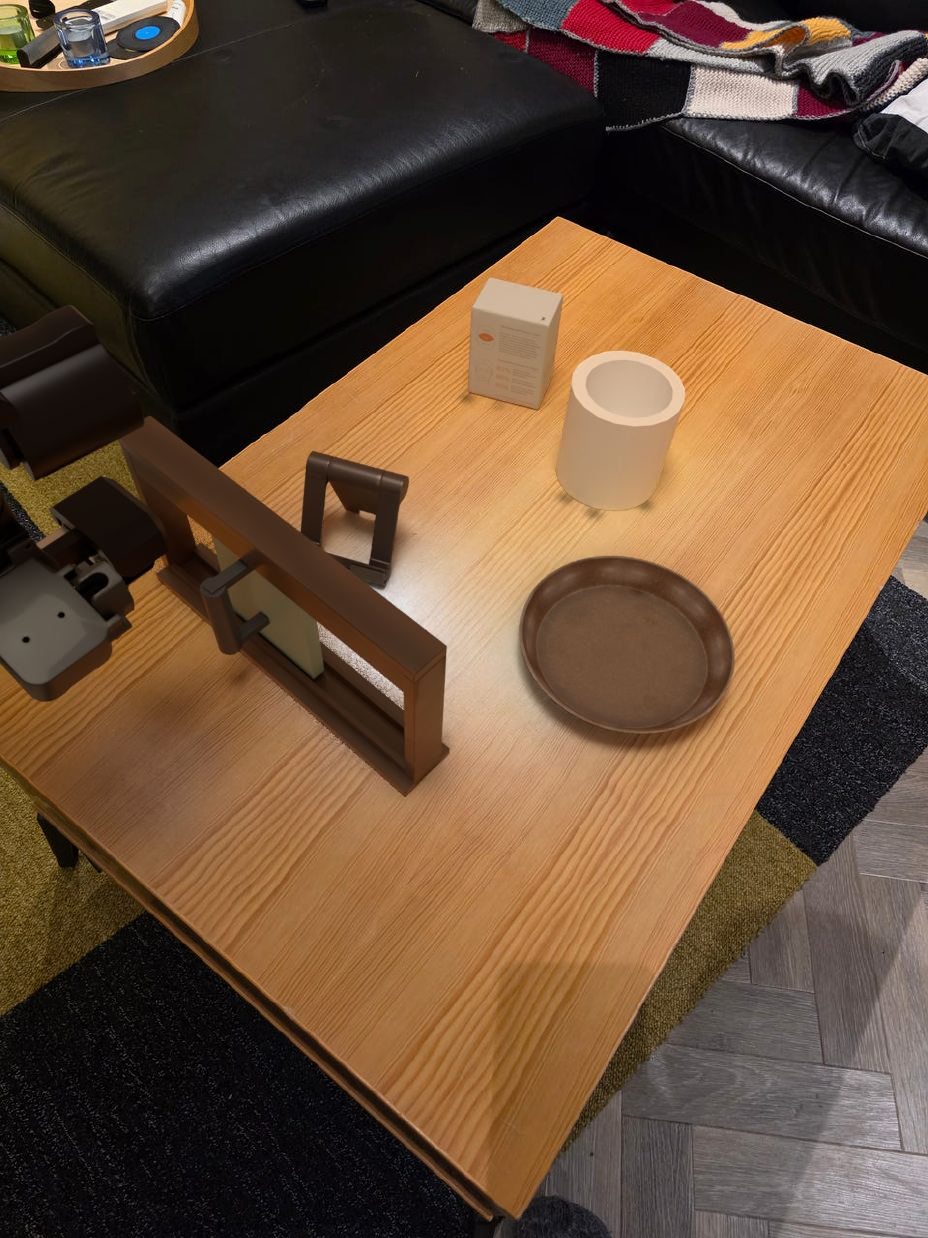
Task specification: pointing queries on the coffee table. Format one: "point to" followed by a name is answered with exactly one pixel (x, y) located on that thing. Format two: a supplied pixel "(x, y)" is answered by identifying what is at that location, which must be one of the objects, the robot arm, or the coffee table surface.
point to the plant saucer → (626, 644)
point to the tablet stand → (355, 507)
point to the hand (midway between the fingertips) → (53, 679)
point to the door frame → (320, 588)
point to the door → (258, 613)
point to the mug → (618, 429)
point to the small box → (513, 342)
